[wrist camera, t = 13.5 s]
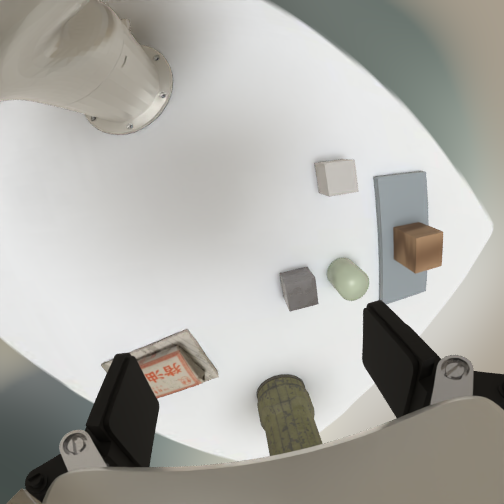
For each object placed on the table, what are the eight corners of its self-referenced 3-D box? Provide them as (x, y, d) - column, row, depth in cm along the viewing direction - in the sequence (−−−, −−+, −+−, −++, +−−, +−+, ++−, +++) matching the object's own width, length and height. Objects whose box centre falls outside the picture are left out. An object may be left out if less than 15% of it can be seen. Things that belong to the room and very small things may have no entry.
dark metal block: (279, 273, 41) (285, 284, 37) (306, 266, 41) (315, 277, 37) (283, 297, 42) (289, 311, 38) (310, 291, 42) (318, 304, 38)
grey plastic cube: (314, 163, 37) (324, 163, 33) (341, 159, 37) (354, 159, 33) (318, 192, 38) (329, 196, 34) (345, 188, 38) (358, 191, 34)
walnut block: (393, 227, 39) (416, 238, 33) (418, 221, 39) (443, 231, 34) (393, 259, 41) (415, 273, 35) (418, 252, 41) (441, 265, 35)
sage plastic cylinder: (325, 261, 41) (338, 274, 36) (353, 254, 41) (368, 267, 36) (328, 288, 42) (340, 304, 38) (354, 281, 42) (369, 296, 38)
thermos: (244, 407, 48) (269, 585, 15) (274, 362, 46) (330, 570, 12) (285, 415, 50) (328, 576, 17) (318, 374, 47) (392, 551, 14)
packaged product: (130, 417, 42) (94, 379, 39) (135, 398, 46) (102, 361, 43) (219, 390, 41) (185, 344, 38) (219, 370, 46) (188, 326, 42)
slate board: (373, 176, 38) (377, 177, 37) (421, 171, 38) (425, 171, 37) (379, 302, 44) (382, 305, 43) (421, 288, 44) (425, 290, 43)
